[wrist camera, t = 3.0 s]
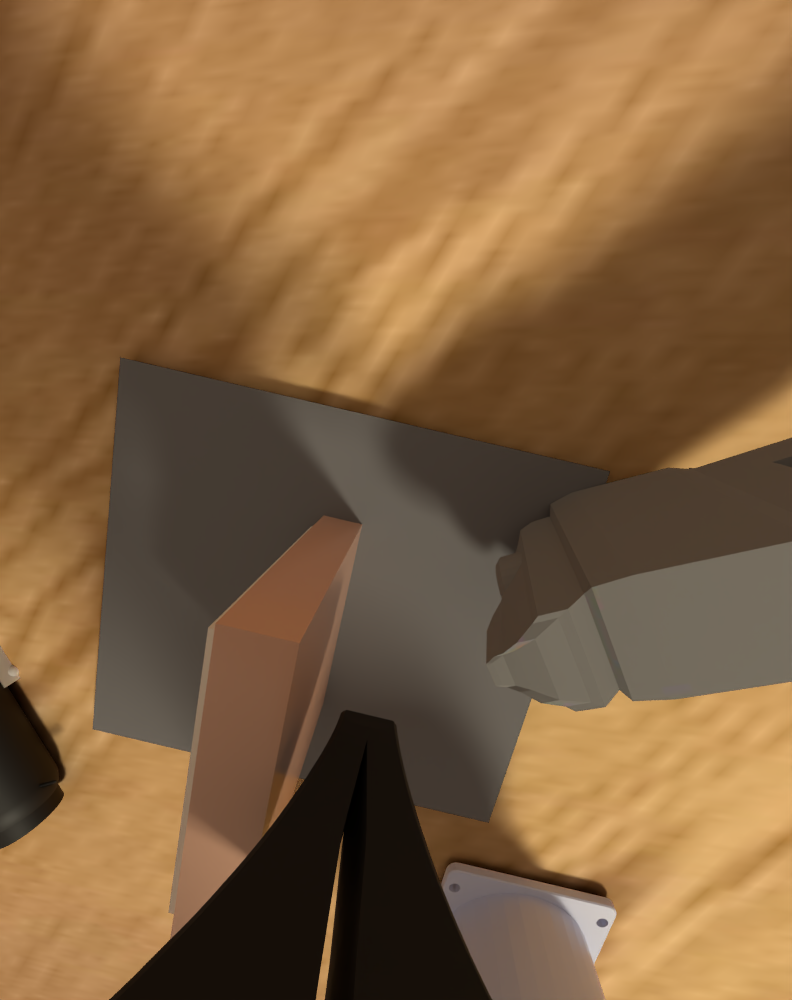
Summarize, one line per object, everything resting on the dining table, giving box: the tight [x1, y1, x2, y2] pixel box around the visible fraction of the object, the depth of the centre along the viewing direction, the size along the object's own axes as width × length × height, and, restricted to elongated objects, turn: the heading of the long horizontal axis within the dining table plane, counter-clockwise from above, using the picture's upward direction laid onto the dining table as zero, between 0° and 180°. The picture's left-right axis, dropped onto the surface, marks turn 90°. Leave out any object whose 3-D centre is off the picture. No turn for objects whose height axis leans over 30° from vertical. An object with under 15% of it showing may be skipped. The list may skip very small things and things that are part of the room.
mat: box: [93, 358, 610, 823], centre depth 16 cm, size 16×18×1 cm
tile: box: [169, 516, 362, 938], centre depth 11 cm, size 8×2×8 cm, turn 167°
